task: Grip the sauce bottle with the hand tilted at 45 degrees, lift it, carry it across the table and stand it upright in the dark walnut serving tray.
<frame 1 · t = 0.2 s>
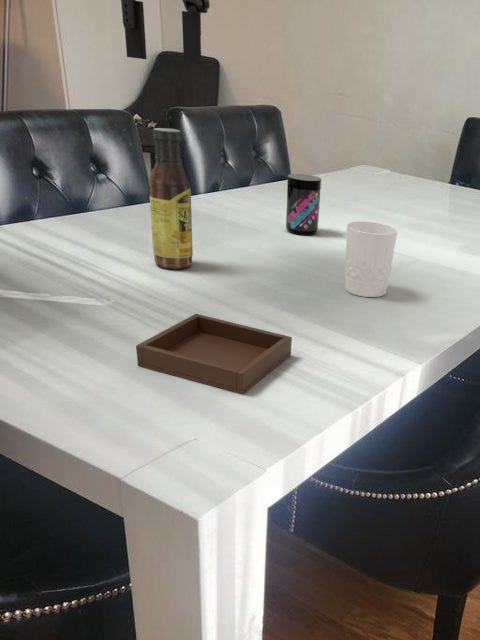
hand: (166, 61, 96), 28 cm above the table, tool pointing down, fingers open, 13 cm apart
white cup: (365, 291, 106), on the table
supplement container: (301, 232, 134), on the table
sauce bottle: (174, 265, 107), on the table
tray: (217, 360, 78), on the table
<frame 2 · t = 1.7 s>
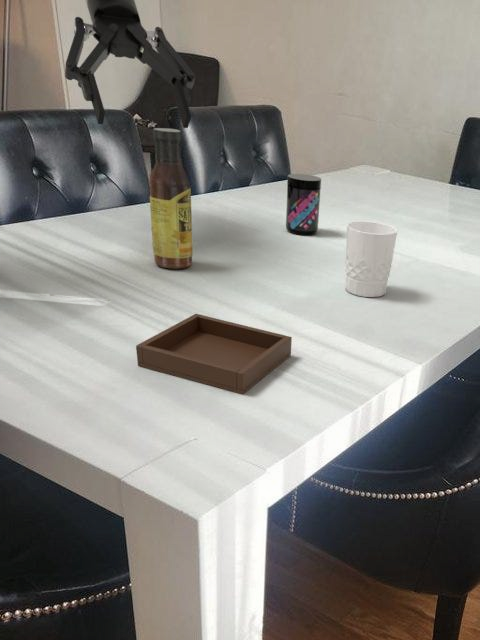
hand: (145, 120, 103), 20 cm above the table, tool tilted 45°, fingers open, 13 cm apart
nothing on the table moved.
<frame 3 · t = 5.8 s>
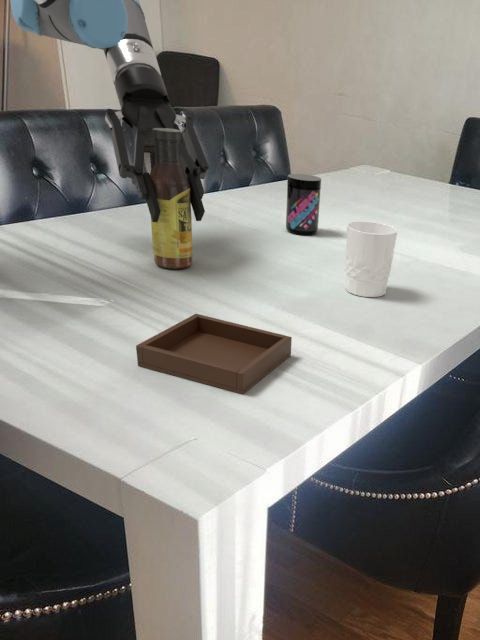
hand: (178, 216, 100), 8 cm above the table, tool tilted 45°, fingers closed on sauce bottle, 6 cm apart
sauce bottle: (174, 265, 107), on the table, touching gripper
everything else where it was.
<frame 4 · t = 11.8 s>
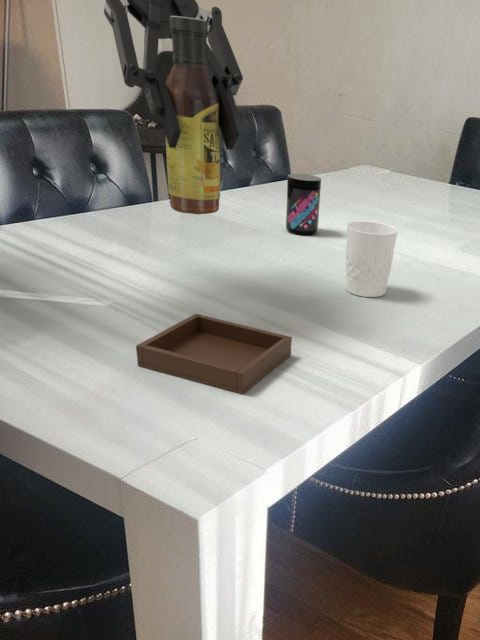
hand: (204, 140, 74), 22 cm above the table, tool tilted 45°, fingers closed on sauce bottle, 6 cm apart
sauce bottle: (195, 211, 81), point 14 cm above the table, touching gripper
everything else where it was.
when the fingers open (9 cm above the table, at t = 17.7 s): sauce bottle stays where it is, resting on tray.
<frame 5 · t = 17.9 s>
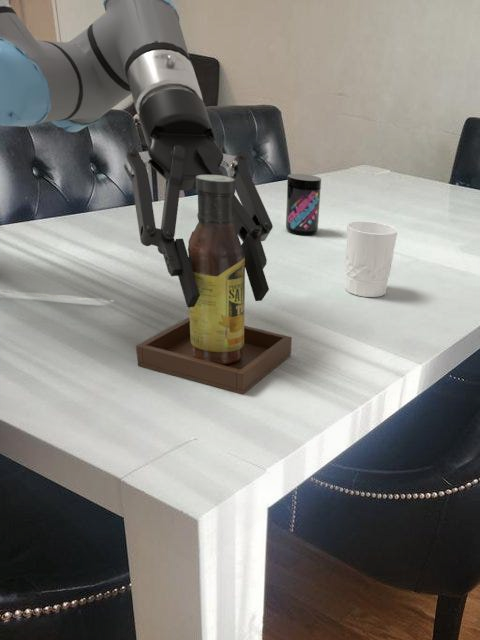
hand: (228, 298, 71), 9 cm above the table, tool tilted 45°, fingers open, 7 cm apart
sauce bottle: (217, 358, 78), resting on tray
everything else where it was.
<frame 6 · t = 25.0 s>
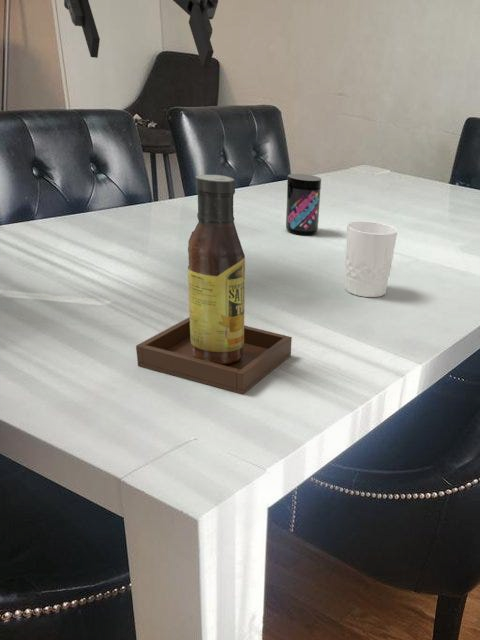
hand: (154, 54, 78), 30 cm above the table, tool tilted 45°, fingers open, 13 cm apart
nothing on the table moved.
at the end: sauce bottle inside the target area in the tray (0.0 cm from its centre), point 0.3 cm above the tray's base; sauce bottle tilted 0°; the gripper is holding nothing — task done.
